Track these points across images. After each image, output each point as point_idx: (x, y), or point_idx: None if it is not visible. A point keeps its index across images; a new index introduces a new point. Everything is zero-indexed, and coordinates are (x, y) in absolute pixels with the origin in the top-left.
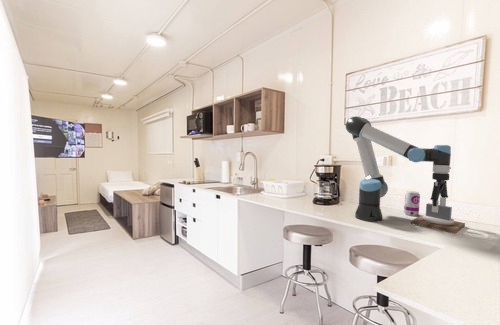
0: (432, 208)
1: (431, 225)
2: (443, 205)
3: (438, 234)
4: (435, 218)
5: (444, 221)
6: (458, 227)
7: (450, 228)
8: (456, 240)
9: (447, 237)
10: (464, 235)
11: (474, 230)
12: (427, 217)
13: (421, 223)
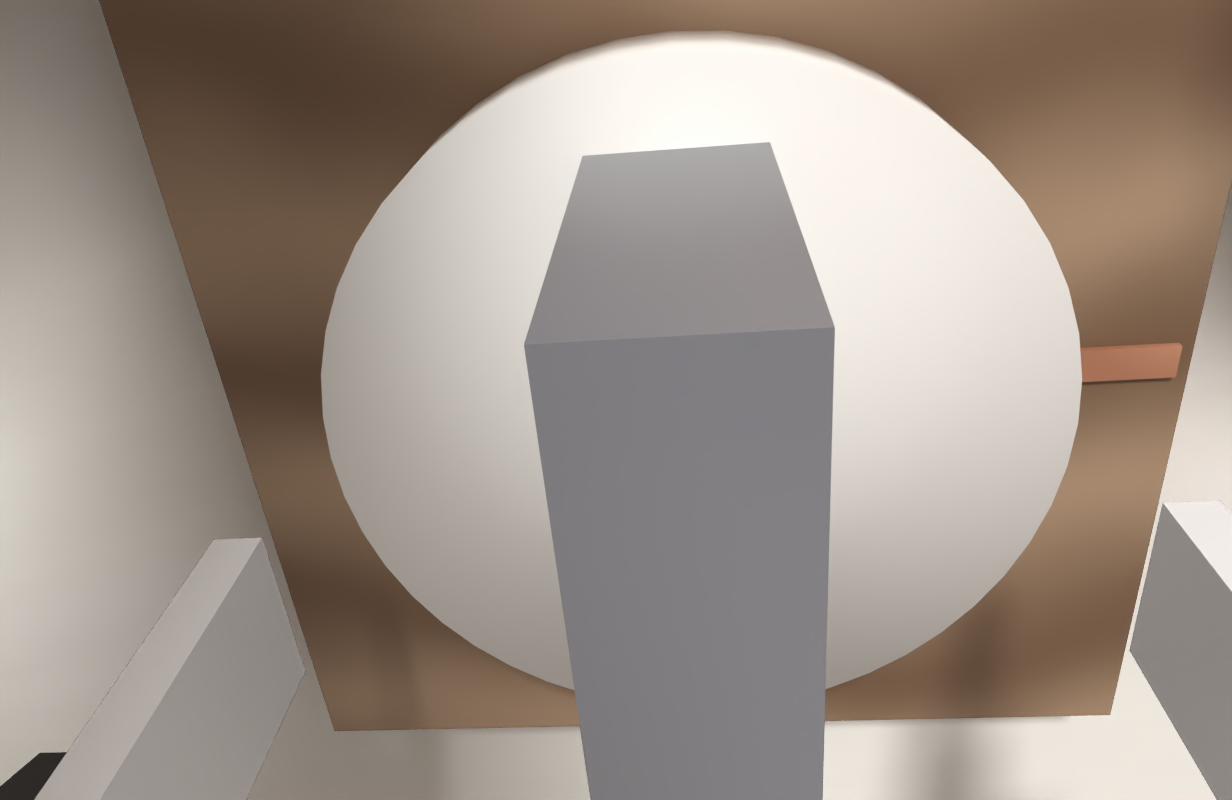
0: (167, 636)
1: (237, 389)
2: (1206, 712)
3: (5, 555)
4: (516, 434)
5: (444, 617)
6: (564, 725)
7: (333, 673)
8: (9, 756)
9: (7, 666)
10: (399, 761)
11: (900, 781)
12: (406, 273)
13: (171, 182)
